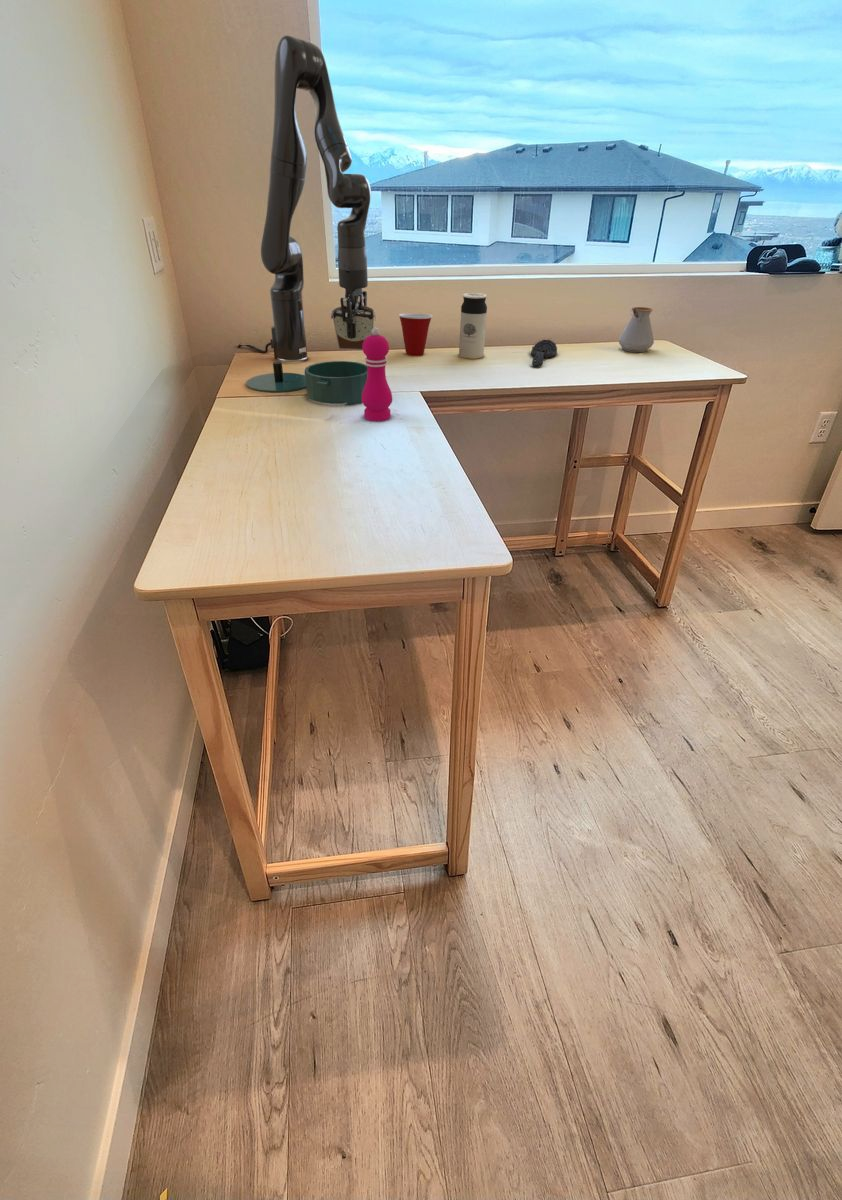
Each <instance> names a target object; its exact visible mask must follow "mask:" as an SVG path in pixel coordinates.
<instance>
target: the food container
mask: <svg viewBox="0 0 842 1200" xmlns="http://www.w3.org/2000/svg"><path fill="white" fill-rule="evenodd" d="M360 308H361V306H360ZM363 308H364V309H363V310H359V309H358V314H356V318H355V329H356V337H355V338H354V339H353V338H348V337H347V323H345V322H343V319H342V310H341V306H338V307H336V308H334V309H332V310H331V313H330V320H333V326H334V331H335V337H336V341H337V348H338V350H347V351H348V350H350V351H363V342H364V340H365V339H366V338H367V337H368V336H370V335H372V332H371V331H372V329H373V328H374V324H375V323H374V322H375V321H377V316H376V313H375V311H374V308H372V307H370V306H367V307H366V306H363ZM345 316H346V313H345ZM352 316H353V314H352ZM348 317H349V314H348Z"/></svg>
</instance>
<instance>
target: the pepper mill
mask: <svg viewBox="0 0 842 1200" xmlns="http://www.w3.org/2000/svg"><path fill="white" fill-rule="evenodd" d="M371 332H372V335H370V336H368V337H367V338H366V339H365V340H364V342H363V350H362V352H363V354H364V355H365V356H366V357H365V358H364V361H365V362H364V365H367V370H368V374H367V381H366V384H365V387H364V389H363V392H362V403H361V404H363V406H364V407H365V408H364V410H363V416H364V419H365V420H368V421H370V422H384V421H388V420H390V419H391V409H390V408H389V407H390V406H391V405H392V403H393V394H392V390H391V387H390V386H389V382H388V381H387V375H386V366H387V365H388V358H387V356H388V354H389V352H390V344H389V341H388V339H387V338H386V337H384V336H383V335H381V334H380V329H379V328H378V327H373V329H372V331H371Z"/></svg>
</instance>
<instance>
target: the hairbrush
mask: <svg viewBox="0 0 842 1200" xmlns="http://www.w3.org/2000/svg"><path fill="white" fill-rule="evenodd" d="M551 339H552V338H548V339H545V337H543V339H541V338H540V339H538V341H536V342H534V344H533V345H532V346H531V351H530V355H531V356H532V361H531V365H532V367H533V368H540V367H542V365H543V363H544V359H545V358H554V357H556V356H557V354H558V346H557V344H556V343H555V342H554V341H553V339H552V340H551Z"/></svg>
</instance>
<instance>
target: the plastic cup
mask: <svg viewBox="0 0 842 1200" xmlns="http://www.w3.org/2000/svg"><path fill="white" fill-rule="evenodd" d="M398 317H399V320H400V324H401V325H400V326H401V329H402V330H401V331H402V336H403V344H404V350H405V354H406V355H407V356H409V357H420V356H423V355H424V353H425V350H426V344H427V339H428V335H429V329H430V323H431V320H432V318H433V315H432V314H427V313H425V314H424V313H398Z"/></svg>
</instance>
